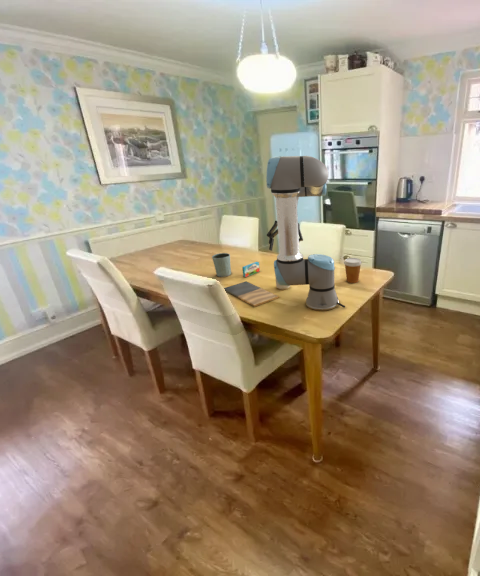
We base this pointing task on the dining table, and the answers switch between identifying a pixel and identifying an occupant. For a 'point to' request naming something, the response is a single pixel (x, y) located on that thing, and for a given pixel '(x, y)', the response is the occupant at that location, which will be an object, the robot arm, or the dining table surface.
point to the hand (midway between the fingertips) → (282, 251)
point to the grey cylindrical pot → (222, 264)
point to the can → (281, 286)
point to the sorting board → (250, 293)
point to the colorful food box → (250, 269)
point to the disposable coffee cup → (352, 269)
